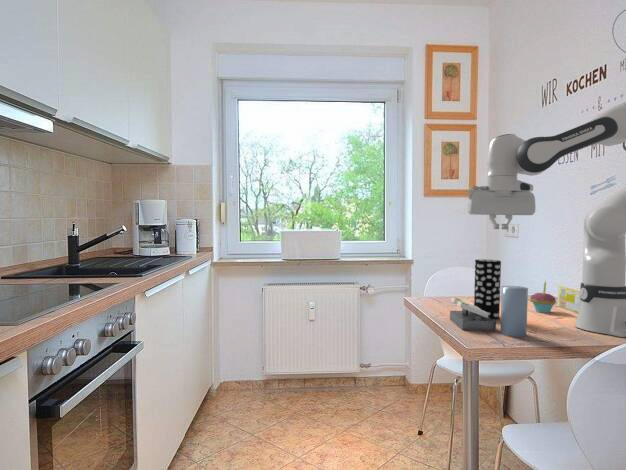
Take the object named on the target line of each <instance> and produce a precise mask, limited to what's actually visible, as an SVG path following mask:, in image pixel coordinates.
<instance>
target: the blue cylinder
mask: <svg viewBox="0 0 626 470" xmlns="http://www.w3.org/2000/svg"><path fill="white" fill-rule="evenodd" d="M528 294H529V288H528V287H525V286H519V285H501V293H500V334H501V335H503V336H506V335H507V336H506V337H510V336H512V337H511V338H525V337H527V331H528V330H527V328H528V325H527V324H528V301H529V300H528V297H529V296H528Z"/></svg>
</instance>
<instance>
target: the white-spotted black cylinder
mask: <svg viewBox="0 0 626 470" xmlns="http://www.w3.org/2000/svg"><path fill="white" fill-rule="evenodd" d="M501 267H502V261H501V260H497V259H486V258H485V259H483V258H482V259H481V258H480V259H475V260H474V285H473V286H474V289H473V291H474V292H473V293H474V294H473V305H474V306H477V307H479V308H480V309H481V310H483V311H485V312H487V313H489V315H488V317H490V318H491V319H493V320H495V321H496V320H499V319H500V312H501V277H502V276H501V273H502V272H501V271H502V269H501Z"/></svg>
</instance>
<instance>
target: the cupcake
mask: <svg viewBox="0 0 626 470" xmlns="http://www.w3.org/2000/svg"><path fill="white" fill-rule="evenodd" d="M546 287H547V282H546V280H545V281H544V283H543V291H542V292H536V293H534V294H532V295H530V297H529V298H530V299H529V300H530V302H531V303H532V304H533V306H534V310H535V312H537V313H541V314H549V313H551V311H552V308H553V306H554V305H555V304H557V303H556V302H557V301H556V298H555V297H554V296H553V295H552V294H550V293H547V292H546Z"/></svg>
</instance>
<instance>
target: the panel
mask: <svg viewBox="0 0 626 470" xmlns="http://www.w3.org/2000/svg"><path fill="white" fill-rule="evenodd" d="M449 320H450V321H451V322H453V324H455V325H456V326H457V327H458V328H460V330H462V331H482V332H483V331H485V332H486V331H487V332H496V331H497V321H496V320H493V319H491V318H490V317H487V318H486V317H484V316H481V315H479V314H476V313H473V312H471V311H468V310H466V309H463V308H461V310H449Z"/></svg>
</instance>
